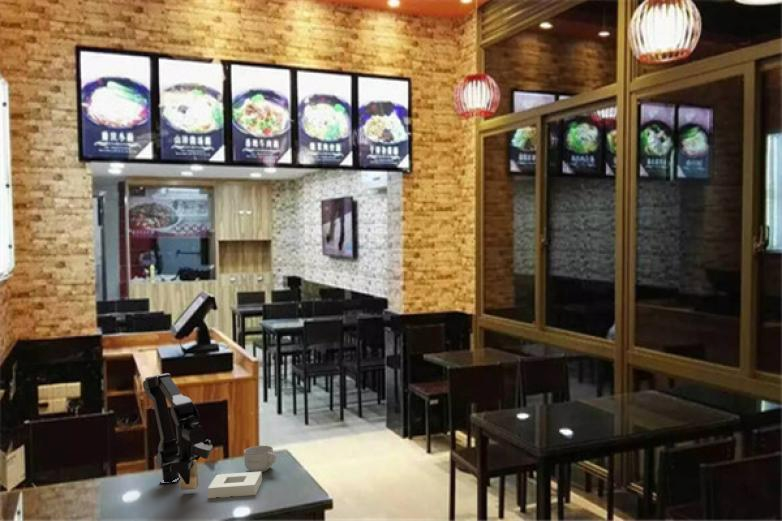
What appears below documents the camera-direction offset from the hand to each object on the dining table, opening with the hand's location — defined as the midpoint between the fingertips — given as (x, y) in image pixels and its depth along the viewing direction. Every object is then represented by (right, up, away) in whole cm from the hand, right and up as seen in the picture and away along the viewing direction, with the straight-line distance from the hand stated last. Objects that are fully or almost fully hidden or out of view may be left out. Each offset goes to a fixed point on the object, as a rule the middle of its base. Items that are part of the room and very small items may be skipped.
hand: (189, 481), depth 218 cm
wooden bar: (0, -2, 0) cm, 2 cm away
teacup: (+22, -2, +17) cm, 28 cm away
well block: (+16, -3, 0) cm, 16 cm away
